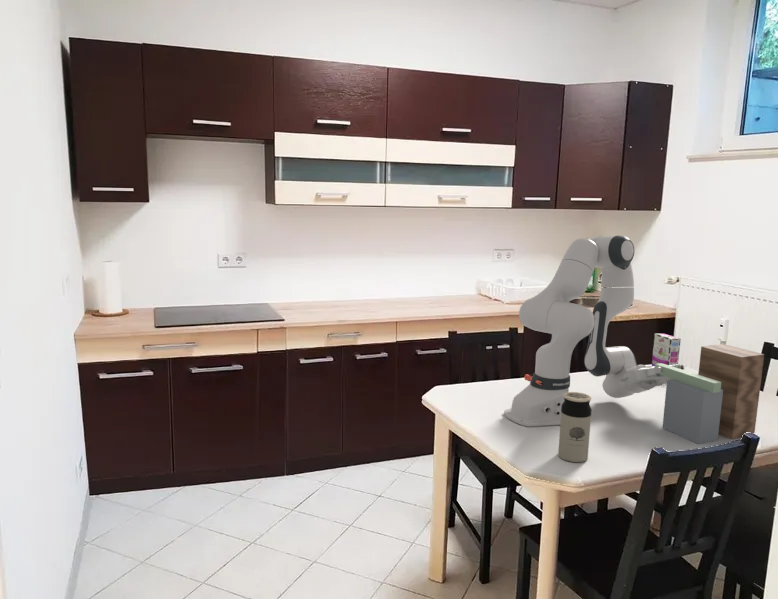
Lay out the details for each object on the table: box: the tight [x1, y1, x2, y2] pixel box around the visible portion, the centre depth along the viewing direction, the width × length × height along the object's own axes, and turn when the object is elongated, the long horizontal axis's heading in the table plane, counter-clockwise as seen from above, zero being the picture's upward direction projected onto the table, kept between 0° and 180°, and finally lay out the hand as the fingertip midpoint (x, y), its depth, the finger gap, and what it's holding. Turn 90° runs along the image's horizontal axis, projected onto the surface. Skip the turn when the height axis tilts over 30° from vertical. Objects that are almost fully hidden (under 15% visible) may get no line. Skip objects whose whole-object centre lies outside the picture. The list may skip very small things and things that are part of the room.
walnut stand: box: [697, 343, 765, 440], centre depth 188 cm, size 10×14×26 cm
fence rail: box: [655, 363, 721, 393], centre depth 185 cm, size 3×22×3 cm, turn 23°
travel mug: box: [557, 391, 592, 463], centre depth 165 cm, size 8×8×18 cm
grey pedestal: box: [661, 379, 723, 445], centre depth 184 cm, size 8×14×16 cm, turn 23°
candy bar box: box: [651, 333, 682, 366], centre depth 250 cm, size 11×5×16 cm, turn 10°
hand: (671, 368), depth 190 cm, fingers open, 8 cm apart
